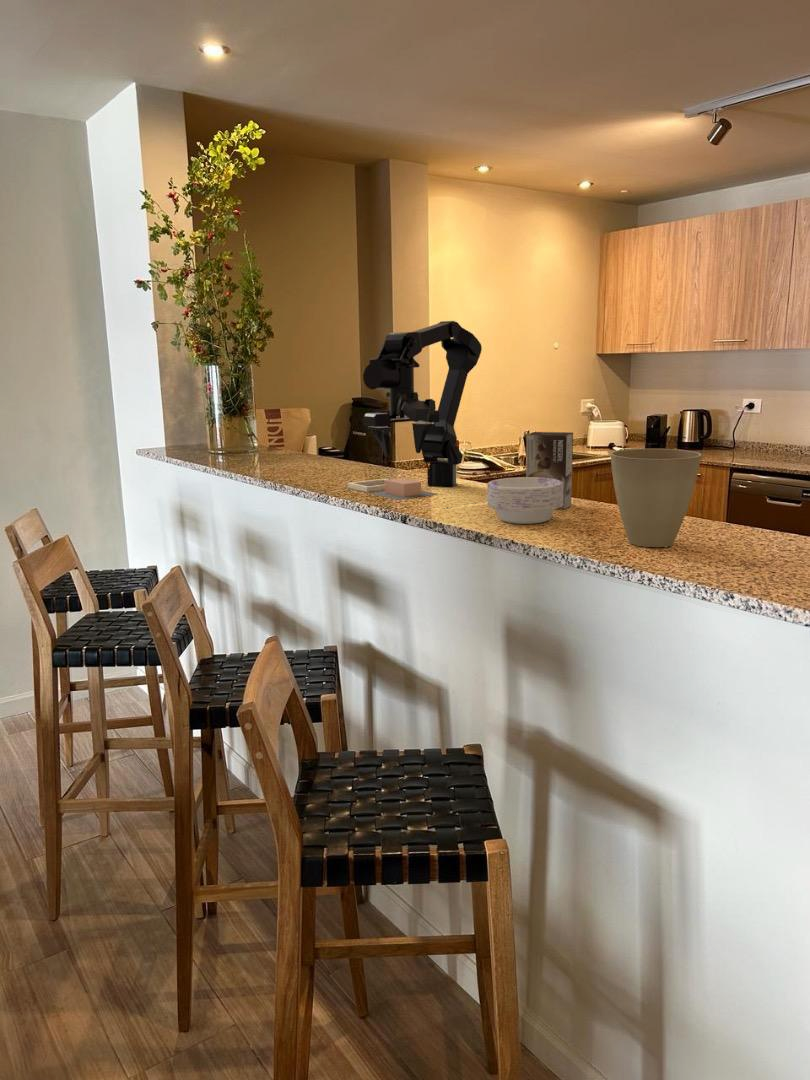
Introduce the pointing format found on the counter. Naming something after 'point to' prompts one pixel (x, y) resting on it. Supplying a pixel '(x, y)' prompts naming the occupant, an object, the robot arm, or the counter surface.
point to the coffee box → (551, 459)
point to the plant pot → (653, 492)
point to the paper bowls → (525, 498)
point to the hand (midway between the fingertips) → (402, 454)
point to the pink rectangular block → (403, 487)
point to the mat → (381, 489)
